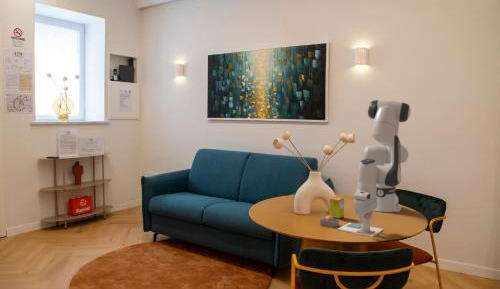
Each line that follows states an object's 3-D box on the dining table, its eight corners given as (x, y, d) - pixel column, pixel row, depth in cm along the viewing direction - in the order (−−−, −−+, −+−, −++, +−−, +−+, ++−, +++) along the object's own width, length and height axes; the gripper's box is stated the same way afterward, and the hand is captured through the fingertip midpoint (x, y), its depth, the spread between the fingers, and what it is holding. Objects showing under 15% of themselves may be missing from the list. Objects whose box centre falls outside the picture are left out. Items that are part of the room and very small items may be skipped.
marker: (363, 229, 197) (363, 209, 196) (371, 231, 194) (372, 211, 193) (359, 231, 194) (360, 211, 193) (368, 233, 191) (368, 212, 190)
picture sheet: (349, 223, 210) (349, 222, 210) (383, 230, 199) (383, 228, 199) (337, 229, 199) (337, 228, 199) (372, 237, 188) (372, 235, 188)
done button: (327, 220, 210) (328, 215, 210) (334, 222, 207) (335, 216, 207) (324, 222, 207) (324, 216, 206) (331, 223, 204) (331, 218, 204)
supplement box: (334, 215, 226) (334, 196, 225) (343, 217, 222) (344, 198, 222) (329, 217, 222) (329, 198, 221) (338, 219, 218) (339, 199, 217)
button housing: (326, 222, 212) (326, 216, 212) (338, 224, 208) (338, 219, 207) (320, 225, 207) (320, 219, 206) (332, 227, 202) (332, 222, 202)
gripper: (369, 188, 202) (368, 215, 203) (351, 195, 186) (351, 224, 188) (381, 190, 198) (380, 217, 200) (364, 197, 182) (363, 226, 184)
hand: (366, 221), depth 193 cm, fingers open, 8 cm apart
